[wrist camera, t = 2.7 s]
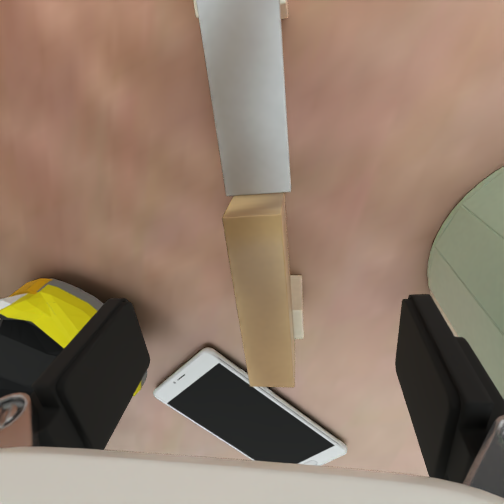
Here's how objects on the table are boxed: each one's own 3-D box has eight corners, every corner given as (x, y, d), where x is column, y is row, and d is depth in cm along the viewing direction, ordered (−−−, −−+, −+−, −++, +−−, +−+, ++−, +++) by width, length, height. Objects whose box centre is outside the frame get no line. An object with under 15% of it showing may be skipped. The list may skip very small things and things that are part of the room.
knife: (271, -143, 10) (262, -215, 7) (300, 346, 18) (300, 388, 16) (179, -122, 10) (142, -183, 8) (250, 346, 19) (243, 386, 16)
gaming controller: (180, 326, 24) (55, 237, 21) (149, 391, 19) (-17, 285, 16) (87, 414, 30) (-17, 353, 28) (47, 479, 25) (-83, 412, 23)
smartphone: (285, 483, 30) (149, 395, 26) (286, 475, 30) (152, 388, 27) (351, 452, 27) (205, 348, 23) (350, 445, 27) (208, 342, 24)
